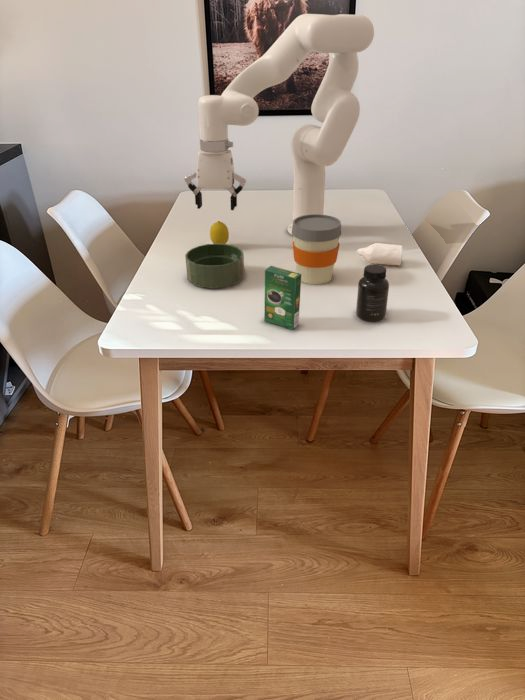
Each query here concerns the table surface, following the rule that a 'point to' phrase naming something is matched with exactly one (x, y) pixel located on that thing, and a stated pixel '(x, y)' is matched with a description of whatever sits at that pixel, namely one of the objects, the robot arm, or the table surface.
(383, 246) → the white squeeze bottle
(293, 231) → the reusable coffee cup
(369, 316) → the supplement bottle
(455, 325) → the table surface
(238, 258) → the green round bowl
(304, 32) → the robot arm
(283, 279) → the coffee box
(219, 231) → the lemon
